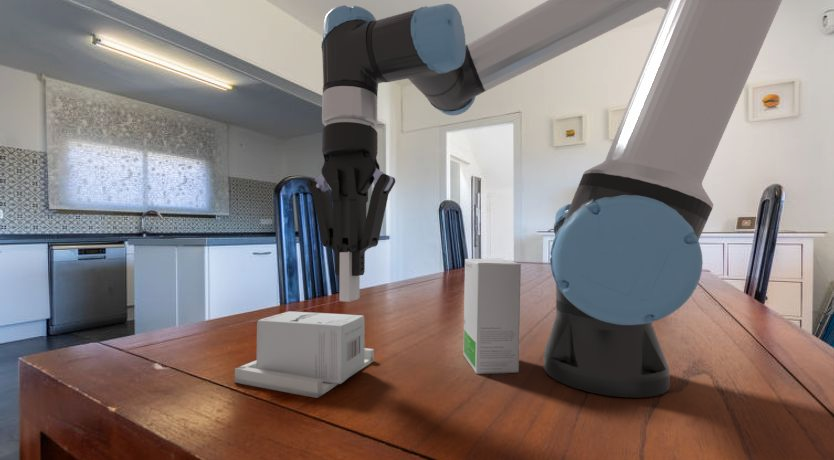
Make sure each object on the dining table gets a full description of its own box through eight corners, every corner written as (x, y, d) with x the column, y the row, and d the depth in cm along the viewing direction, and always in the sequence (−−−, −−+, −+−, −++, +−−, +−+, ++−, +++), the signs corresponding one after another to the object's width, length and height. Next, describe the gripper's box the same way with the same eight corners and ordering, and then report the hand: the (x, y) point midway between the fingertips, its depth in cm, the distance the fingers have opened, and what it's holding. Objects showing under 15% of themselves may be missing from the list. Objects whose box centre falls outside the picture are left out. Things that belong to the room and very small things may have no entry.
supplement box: (341, 325, 45) (254, 319, 48) (341, 385, 44) (254, 376, 48) (365, 313, 52) (288, 309, 55) (365, 365, 51) (288, 358, 55)
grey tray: (374, 360, 55) (374, 349, 55) (317, 398, 42) (317, 382, 42) (304, 351, 60) (304, 340, 60) (234, 382, 47) (234, 368, 47)
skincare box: (462, 356, 58) (462, 258, 58) (503, 354, 58) (502, 258, 59) (476, 375, 49) (475, 261, 50) (523, 373, 50) (522, 261, 50)
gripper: (404, 130, 51) (404, 298, 50) (326, 140, 56) (326, 293, 55) (379, 113, 44) (379, 307, 43) (293, 125, 49) (292, 301, 48)
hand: (349, 299), depth 49 cm, fingers closed
